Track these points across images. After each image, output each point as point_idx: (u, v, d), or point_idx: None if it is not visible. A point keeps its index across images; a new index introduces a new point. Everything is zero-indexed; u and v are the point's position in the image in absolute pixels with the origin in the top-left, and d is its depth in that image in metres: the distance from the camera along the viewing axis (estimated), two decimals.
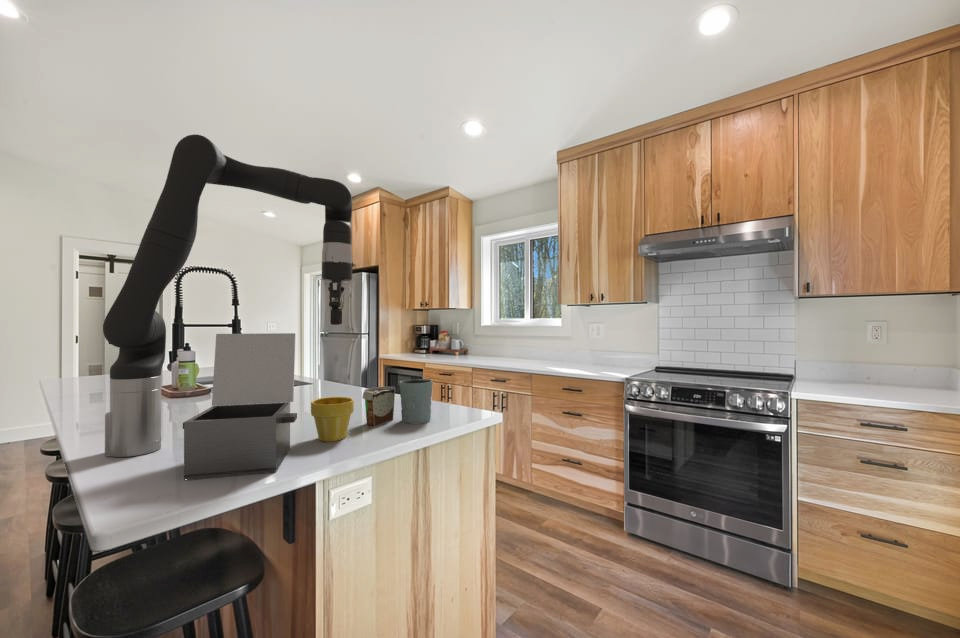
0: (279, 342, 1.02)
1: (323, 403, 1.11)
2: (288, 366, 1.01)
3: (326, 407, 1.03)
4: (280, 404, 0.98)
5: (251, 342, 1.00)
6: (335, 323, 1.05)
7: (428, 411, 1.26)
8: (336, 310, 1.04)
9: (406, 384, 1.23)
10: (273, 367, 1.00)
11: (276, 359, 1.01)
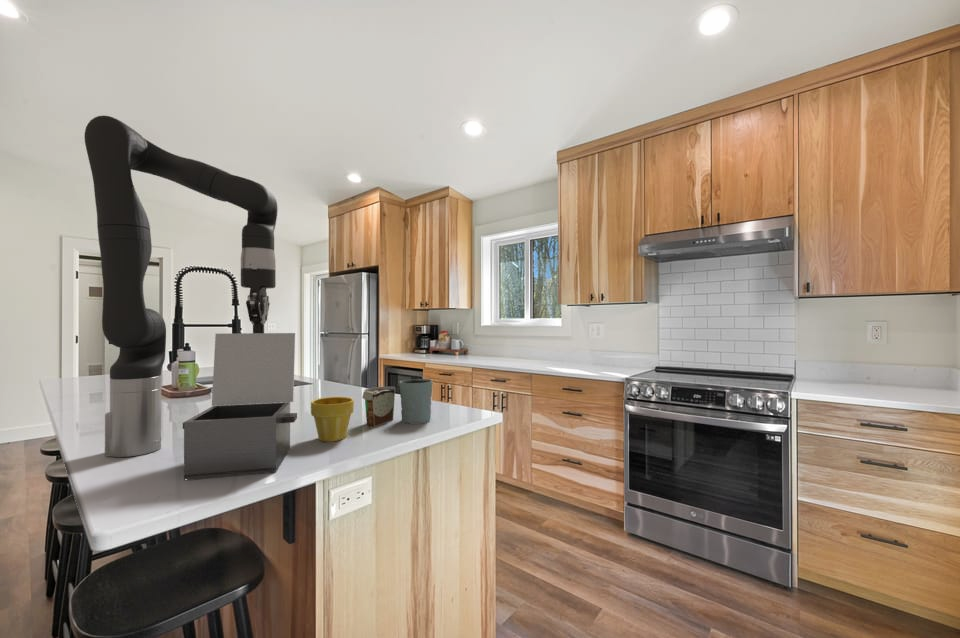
0: (278, 342, 1.01)
1: (323, 403, 1.11)
2: (288, 365, 1.01)
3: (326, 407, 1.03)
4: (280, 404, 0.98)
5: (251, 341, 1.00)
6: None
7: (428, 411, 1.26)
8: (258, 325, 1.01)
9: (406, 384, 1.23)
10: (273, 367, 1.00)
11: (276, 359, 1.00)
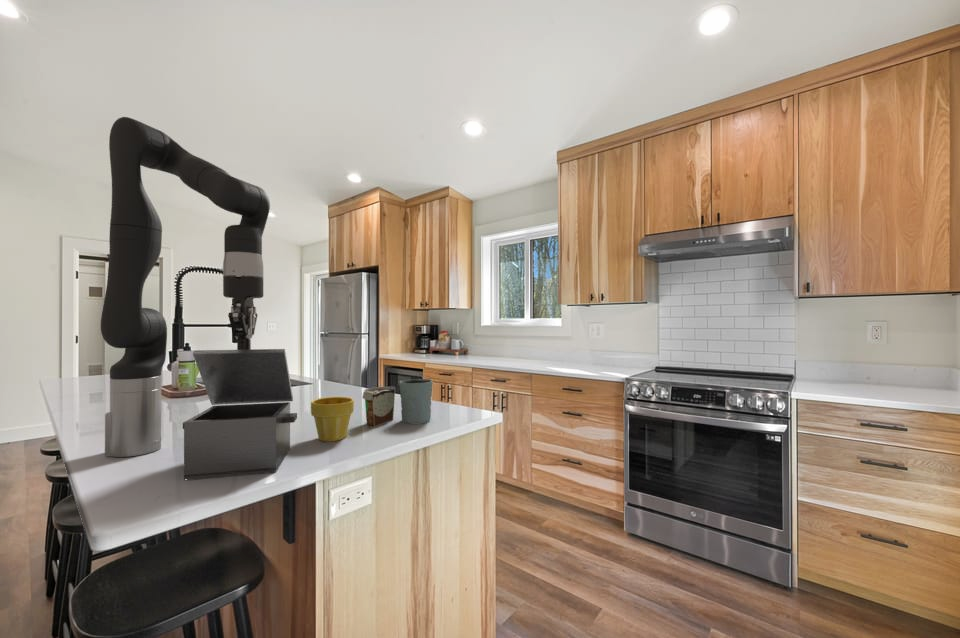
0: (267, 359, 0.90)
1: (323, 403, 1.11)
2: (283, 377, 0.94)
3: (326, 407, 1.03)
4: (280, 404, 0.98)
5: (236, 360, 0.88)
6: None
7: (428, 411, 1.26)
8: (243, 340, 0.89)
9: (406, 384, 1.23)
10: (266, 378, 0.94)
11: (268, 372, 0.92)
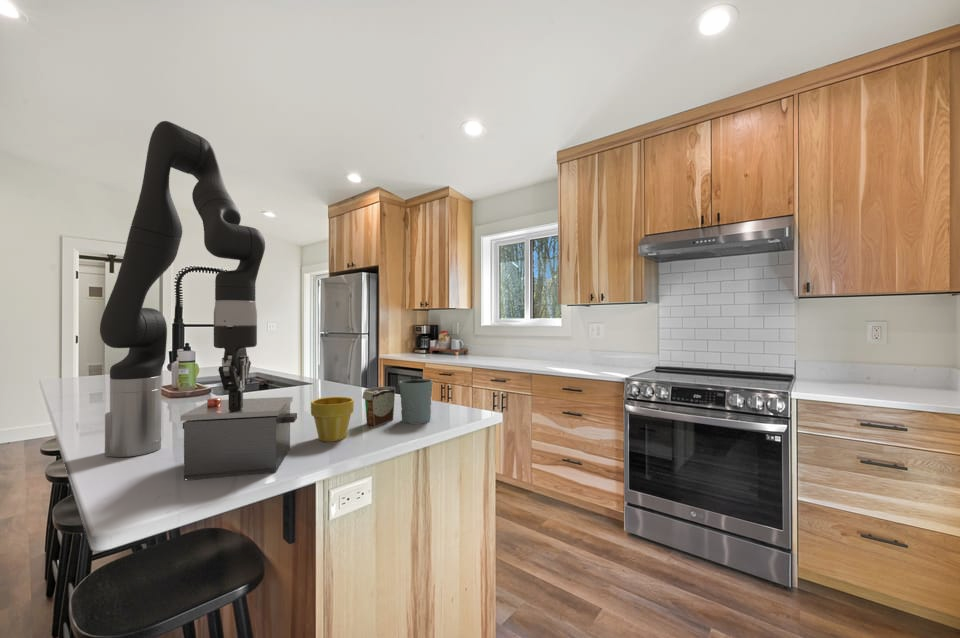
0: None
1: (323, 403, 1.11)
2: None
3: (326, 407, 1.03)
4: None
5: None
6: (235, 409, 0.84)
7: (428, 411, 1.26)
8: (235, 393, 0.83)
9: (406, 384, 1.23)
10: None
11: None
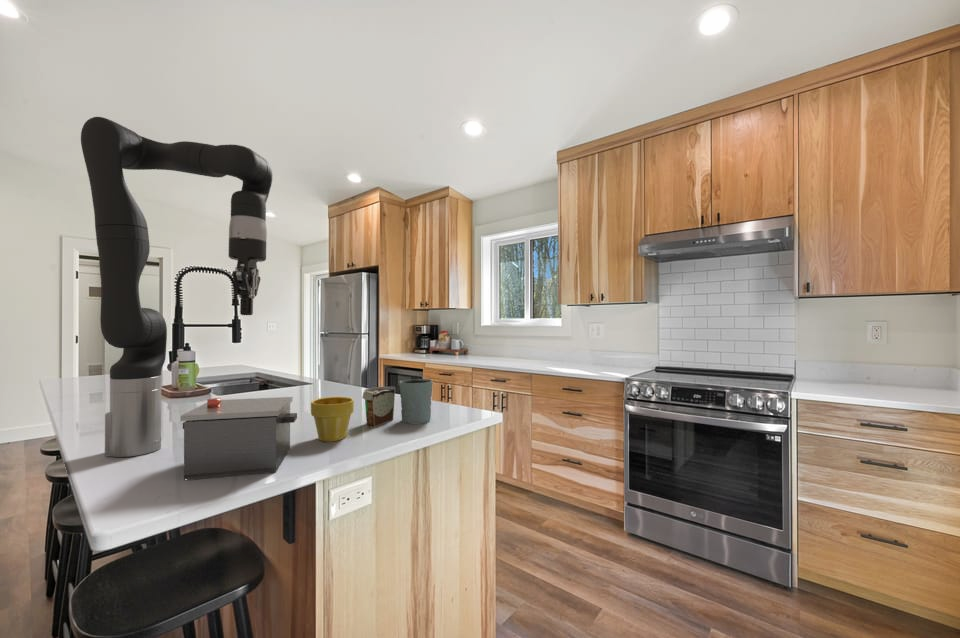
0: None
1: (323, 403, 1.11)
2: None
3: (326, 407, 1.03)
4: None
5: None
6: (245, 313, 0.95)
7: (428, 411, 1.26)
8: (246, 299, 0.95)
9: (406, 384, 1.23)
10: None
11: None
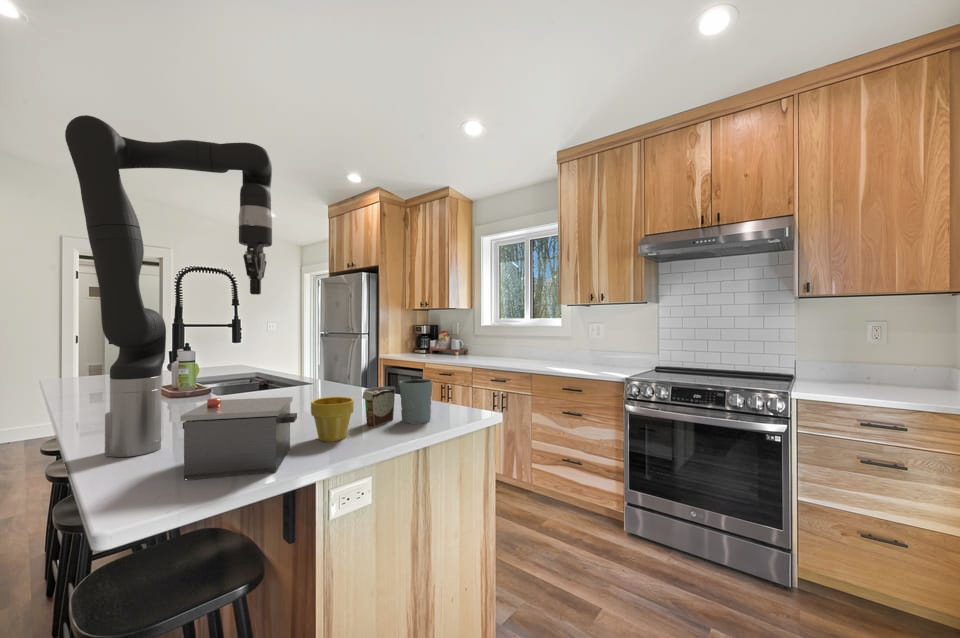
0: None
1: (323, 403, 1.11)
2: None
3: (326, 407, 1.03)
4: None
5: None
6: (255, 292, 1.07)
7: (428, 411, 1.26)
8: (255, 280, 1.06)
9: (406, 384, 1.23)
10: None
11: None
